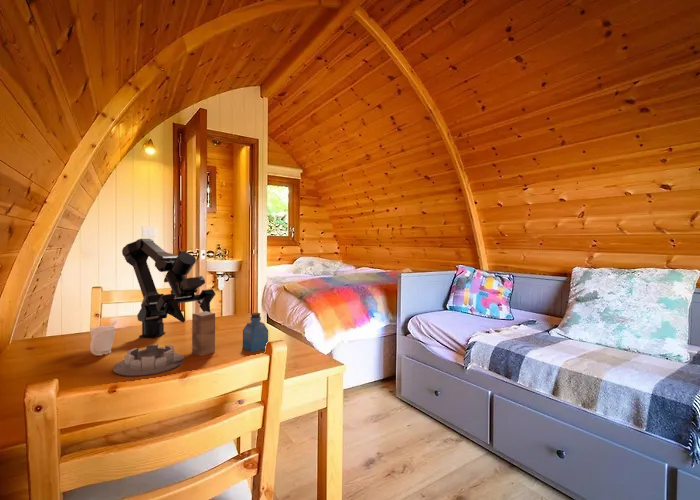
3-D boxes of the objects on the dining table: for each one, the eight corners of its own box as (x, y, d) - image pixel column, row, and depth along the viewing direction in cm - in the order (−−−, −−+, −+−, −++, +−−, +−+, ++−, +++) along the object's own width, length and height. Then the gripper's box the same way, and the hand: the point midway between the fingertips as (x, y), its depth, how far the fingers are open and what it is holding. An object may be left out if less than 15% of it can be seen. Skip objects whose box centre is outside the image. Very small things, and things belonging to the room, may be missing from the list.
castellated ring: (96, 374, 91) (96, 359, 91) (142, 352, 109) (142, 340, 109) (159, 378, 90) (159, 363, 90) (195, 355, 108) (195, 342, 107)
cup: (120, 349, 112) (120, 325, 112) (104, 359, 103) (104, 333, 102) (97, 349, 111) (97, 325, 111) (78, 360, 101) (78, 334, 101)
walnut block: (192, 353, 110) (192, 313, 109) (205, 349, 114) (206, 311, 114) (201, 356, 107) (201, 315, 107) (214, 352, 111) (215, 313, 111)
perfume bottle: (268, 348, 116) (268, 313, 116) (252, 352, 112) (252, 316, 112) (258, 344, 121) (258, 311, 120) (242, 347, 116) (243, 313, 116)
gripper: (160, 270, 107) (179, 308, 101) (212, 267, 123) (231, 300, 117) (148, 292, 112) (165, 330, 106) (199, 286, 127) (217, 319, 121)
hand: (197, 319), depth 112 cm, fingers open, 9 cm apart
